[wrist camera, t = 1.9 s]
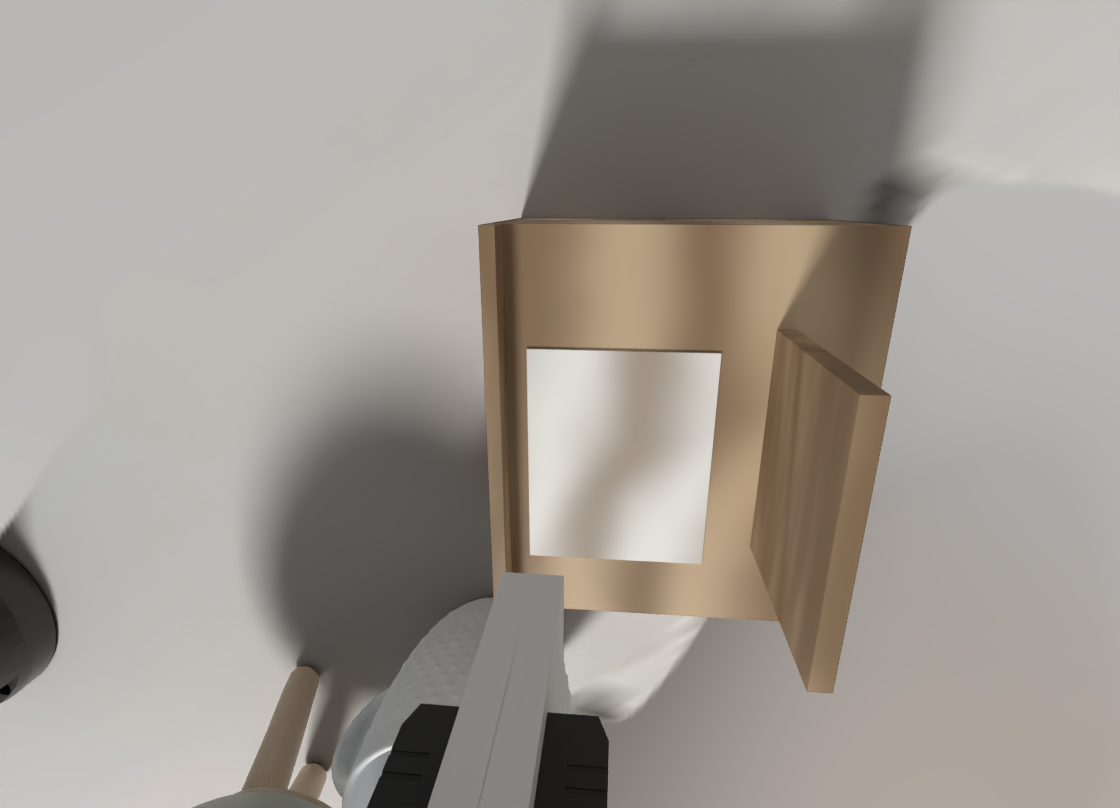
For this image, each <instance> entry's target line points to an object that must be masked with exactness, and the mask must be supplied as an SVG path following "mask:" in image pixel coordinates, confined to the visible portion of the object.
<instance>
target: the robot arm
mask: <svg viewBox="0 0 1120 808" xmlns="http://www.w3.org/2000/svg"><path fill="white" fill-rule="evenodd" d="M55 645H56V630H55V624H54V620H53V616H52V613H51V610H50V608H49V606H48V603H47V601H46V599H45V598H44V596H43V594H42V592H41V591H40V589H39V588H38V586H37V585H36V583H35V582H34V581H33V579H32V578H31V577H30V576H29V575H28V573H27V572H26V571H25V570H24V569H23V568H22V567H21V566H20V565H19V564H18V563H17V562H16V561H15V560H14V559H13V558H11V557H10V556H9V555H8V554H7V553H5V552H4V551H3V550H1V549H0V703H2V702H4V701H6V700H8V699H9V698H11V697H12V696H14V695H15V694H16V693H18V692H19V691H20V690H21V689H23V688H24V687H25V686H26V685H28V684H29V683H30V682H31V681H32V680H34V679H35V678H36V677H37V676H39V675H40V674H41V673H42V672H43V671H44V670H45V669H46V667H47V666H48V665H49V663H50V661H51V659H52V657H53V654H54V651H55ZM563 666H564V576H561V575H545V574H528V573H512V572H502V576H501V579H500V582H499V585H498V588H497V591H496V594H495V597H494V601H493V604H492V607H491V610H490V613H489V616H488V619H487V623H486V626H485V629H484V632H483V635H482V638H481V641H480V644H479V648H478V651H477V654H476V657H475V660H474V663H473V666H472V669H471V673H470V676H469V679H468V682H467V685H466V688H465V691H464V694H463V698H462V701H461V704H460V707H459V706H447V705H435V704H423V703H421V704H420V705H419V706H418V707H417V708H416V709H415V710H414V712H413V713H412V714H411V715H410V716H409V717H408V718H407V719H406V720H405V721H404V722H403V724H402V725H401V727H400V730H399V732H398V734H397V737H396V739H395V742H394V744H393V746H392V749H391V754H390V755H389V756H388V758H387V761H386V763H385V765H384V768H383V770H382V775H381V777H379V780H378V782H377V785H376V787H375V789H374V792H373V794H372V796H371V799H370V801H369V804H368V806H367V808H607V791H608V790H607V789H608V748H609V740H608V738H607V736H606V733H605V731H604V728H603V726H602V724H601V721H600V719H599V717H598V716H587V715H575V714H563V713H558V707H559V699H560V691H561V683H562V674H563Z"/></svg>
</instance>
